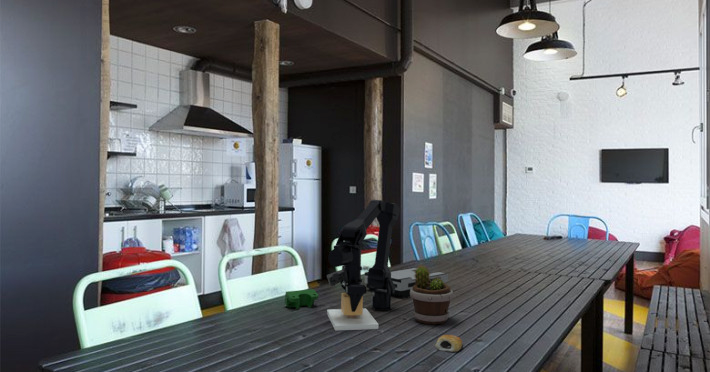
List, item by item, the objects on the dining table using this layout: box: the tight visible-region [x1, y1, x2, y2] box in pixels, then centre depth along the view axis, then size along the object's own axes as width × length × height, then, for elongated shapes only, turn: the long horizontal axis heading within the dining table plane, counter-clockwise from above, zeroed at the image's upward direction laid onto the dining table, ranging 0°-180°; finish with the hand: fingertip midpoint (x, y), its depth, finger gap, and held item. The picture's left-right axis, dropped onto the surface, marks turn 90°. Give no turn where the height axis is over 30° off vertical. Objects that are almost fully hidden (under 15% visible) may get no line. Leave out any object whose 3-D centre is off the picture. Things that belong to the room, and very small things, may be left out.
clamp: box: [284, 288, 319, 310], centre depth 185 cm, size 12×6×9 cm, turn 112°
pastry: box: [435, 334, 463, 353], centre depth 143 cm, size 9×7×4 cm
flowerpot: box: [409, 262, 454, 325], centre depth 170 cm, size 14×15×20 cm
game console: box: [364, 267, 449, 299], centre depth 219 cm, size 21×32×8 cm, turn 134°
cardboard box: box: [340, 292, 364, 315], centre depth 168 cm, size 6×6×6 cm
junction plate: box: [326, 308, 379, 332], centre depth 168 cm, size 14×20×6 cm
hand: (351, 309), depth 168 cm, fingers closed on cardboard box, 6 cm apart
